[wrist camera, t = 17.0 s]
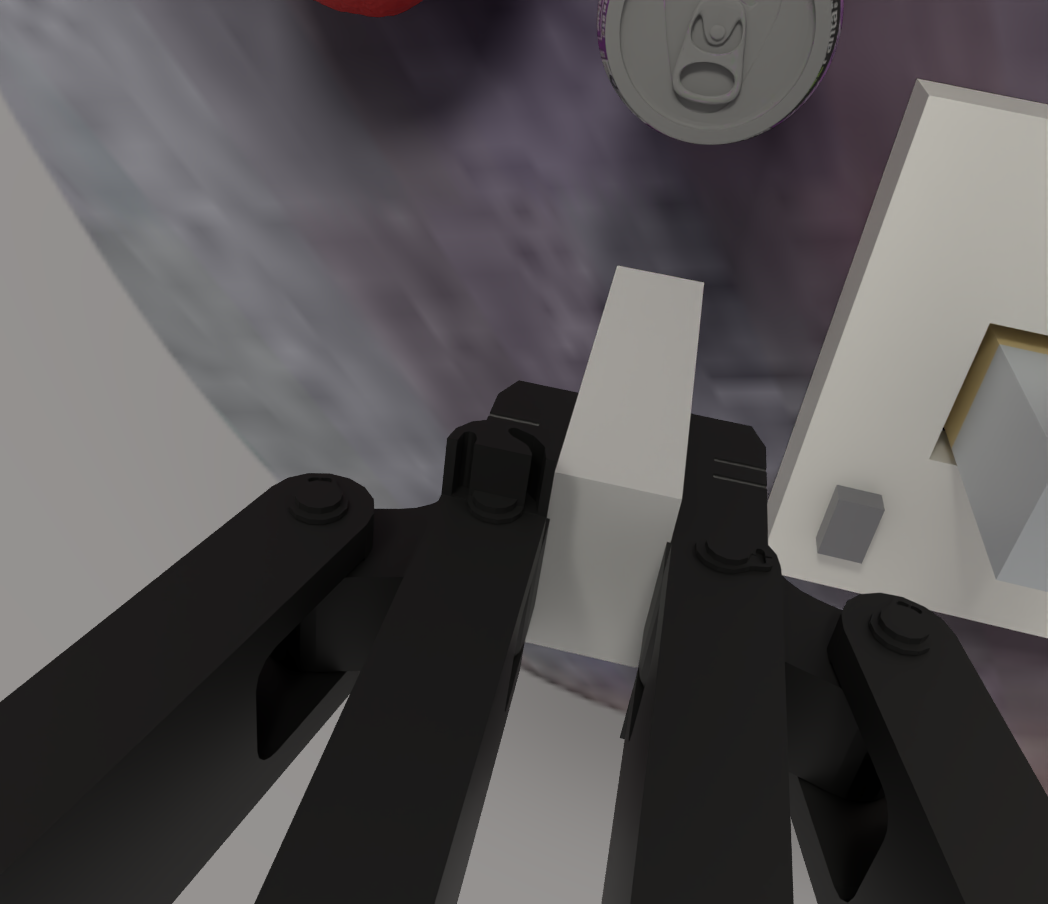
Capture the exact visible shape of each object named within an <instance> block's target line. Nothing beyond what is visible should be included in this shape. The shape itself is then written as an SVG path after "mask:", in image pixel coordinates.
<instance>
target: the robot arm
mask: <svg viewBox="0 0 1048 904" xmlns="http://www.w3.org/2000/svg"><path fill="white" fill-rule="evenodd" d="M703 289H704V282H699V281H693V280H688V279H683V278H678V277H673V276H668V275H663V274H658V273H653V272H647V271H642V270H637V269H632V268H627V267H622V266H617V268H616V272H615V275H614V278H613V282H612V285H611V288H610V292H609V295H608V298H607V301H606V305H605V308H604V311H603V315H602V318H601V321H600V325H599V328H598V331H597V334H596V338H595V341H594V344H593V348H592V351H591V354H590V358H589V361H588V364H587V367H586V371H585V374H584V377H583V381H582V384H581V387H580V391H579V393H577V392H572V391H567V390H562V389H558V388H553V387H548V386H543V385H538V384H534V383H529V382H524V381H517V382H516V383H514V384H513V385H511V386H510V387H508V388H507V389H505V390H504V391H502V392H500V393H499V394H498V396H497V398H496V400H495V403H494V405H493V407H492V409H491V412H490V416H488V418H487V420H482V421H473V422H470V423H468V424H465V425H463V426H460V427H458V428H456V429H455V430H454V431H453V432H452V433H451V434H450V436H449V437H448V438H447V446H446V456H445V465H444V475H443V485H442V494H441V496H440V499H439V501H438V502H435V503H433V504H431V505H426V506H422V507H418V508H407V509H374V499H373V498H372V496H371V495H370V494H369V492H368V491H367V490H366V488H365V487H363V486H361V485H360V484H358V483H356V482H355V481H353V480H351V479H349V478H345V477H341V476H337V475H333V474H321V473H308V474H303V475H299V476H294V477H289V478H287V479H285V480H283V481H281V482H279V483H278V484H276V485H274V486H272V487H271V488H270V489H268V490H267V491H266V492H264V493H263V494H262V495H261V496H259V497H258V498H257V499H256V500H254V501H253V502H252V503H251V504H249V505H248V506H247V507H246V508H244V509H243V510H242V511H241V512H239V513H238V514H237V515H235V516H234V517H233V518H232V519H230V520H229V521H228V522H227V523H225V524H224V525H223V526H222V527H221V528H219V529H218V530H217V531H215V532H214V533H213V534H211V535H210V536H209V537H208V538H206V539H205V540H204V541H203V542H201V543H200V544H199V545H198V546H196V547H195V548H194V549H193V550H191V551H190V552H189V553H188V554H186V555H185V556H184V557H182V558H181V559H180V560H179V561H177V562H176V563H175V564H174V565H172V566H171V567H170V568H169V569H168V570H166V571H165V572H164V573H162V574H161V575H160V576H159V577H158V578H156V579H155V580H153V581H152V582H151V583H150V584H149V585H147V586H146V587H145V588H143V589H142V590H141V591H140V592H138V593H137V594H136V595H135V596H133V597H132V598H131V599H130V600H128V601H127V602H126V603H125V604H123V605H122V606H121V607H120V608H118V609H117V610H116V611H115V612H113V613H112V614H111V615H109V616H108V617H107V618H106V619H104V620H103V621H102V622H101V623H99V624H98V625H97V626H96V627H94V628H93V629H92V630H91V631H89V632H88V633H87V634H85V635H84V636H83V637H82V638H80V639H79V640H78V641H77V642H75V643H74V644H73V645H72V646H70V647H69V648H68V649H67V650H65V651H64V652H63V653H61V654H60V655H59V656H58V657H56V658H55V659H54V660H53V661H51V662H50V663H49V664H48V665H46V666H45V667H44V668H43V669H41V670H40V671H39V672H38V673H36V674H35V675H34V676H33V677H31V678H30V679H29V680H27V681H26V682H25V683H24V684H23V685H21V686H20V687H19V688H17V689H16V690H15V691H14V692H13V693H11V694H10V695H9V696H7V697H6V698H5V699H4V700H2V701H1V702H0V904H172V903H173V902H174V901H175V899H176V898H177V897H178V896H179V895H180V894H181V892H182V891H183V890H184V889H185V887H186V886H187V885H188V884H189V883H190V882H191V881H192V879H193V878H194V877H195V876H196V874H198V872H199V871H200V870H201V869H202V868H203V866H204V865H205V864H206V863H207V861H208V860H209V859H210V858H211V857H212V856H213V855H214V853H215V852H216V851H217V850H218V849H219V848H220V846H221V845H222V844H223V843H224V842H225V840H226V839H227V838H228V837H229V836H230V835H231V833H232V832H233V831H234V830H235V829H236V828H237V826H238V825H239V824H240V823H241V821H242V820H243V819H244V818H245V817H246V816H247V815H248V813H249V812H250V811H251V810H252V809H253V807H254V806H255V805H256V804H257V803H258V801H259V800H260V799H261V798H262V797H263V795H264V794H265V793H266V792H267V791H268V790H269V789H270V787H271V786H272V785H273V784H274V783H275V782H276V780H277V779H278V778H279V777H280V776H281V774H282V773H283V772H284V771H285V769H287V767H288V766H289V765H290V764H291V763H292V762H293V760H294V759H295V758H296V757H297V756H298V754H299V753H300V752H301V751H302V750H303V749H304V747H305V746H306V745H307V744H308V743H309V741H310V740H311V739H312V738H313V737H314V736H315V734H316V733H317V732H318V731H319V730H320V728H321V727H322V726H323V725H324V724H325V722H326V721H327V720H328V719H329V718H330V717H331V715H332V714H333V713H334V712H335V711H336V710H337V708H338V707H339V706H340V705H341V704H342V703H343V701H344V700H345V699H346V698H347V697H348V695H349V694H350V695H349V698H348V700H347V702H346V704H345V707H344V709H343V711H342V713H341V715H340V717H339V720H338V722H337V724H336V726H335V728H334V731H333V733H332V735H331V737H330V739H329V741H328V744H327V746H326V748H325V750H324V753H323V755H322V757H321V759H320V761H319V763H318V766H317V768H316V770H315V772H314V774H313V776H312V779H311V781H310V783H309V785H308V788H307V790H306V792H305V794H304V796H303V799H302V801H301V803H300V805H299V807H298V809H297V811H296V814H295V816H294V818H293V820H292V823H291V825H290V827H289V829H288V831H287V833H286V836H285V838H284V840H283V842H282V844H281V847H280V849H279V851H278V853H277V855H276V858H275V860H274V862H273V864H272V866H271V869H270V871H269V873H268V875H267V877H266V879H265V882H264V884H263V886H262V888H261V890H260V892H259V895H258V897H257V899H256V901H255V903H254V904H457V901H458V897H459V893H460V890H461V886H462V883H463V879H464V875H465V871H466V867H467V864H468V860H469V856H470V853H471V849H472V845H473V842H474V838H475V834H476V830H477V827H478V823H479V819H480V816H481V812H482V808H483V805H484V801H485V797H486V793H487V790H488V786H489V782H490V779H491V775H492V771H493V767H494V764H495V760H496V756H497V753H498V749H499V745H500V742H501V738H502V734H503V730H504V727H505V723H506V719H507V715H508V712H509V708H510V704H511V701H512V697H513V693H514V690H515V686H516V682H517V678H518V675H519V671H520V665H521V660H522V654H523V648H524V643H525V642H527V643H532V644H536V645H540V646H545V647H549V648H553V649H558V650H562V651H566V652H571V653H575V654H579V655H583V656H588V657H592V658H596V659H601V660H605V661H609V662H614V663H618V664H622V665H627V666H631V667H635V668H637V666H638V663H639V668H638V672H637V675H636V679H635V683H634V687H633V690H632V694H631V698H630V702H629V705H628V709H627V713H626V717H625V721H624V724H623V728H622V732H621V735H620V738H623V739H625V742H624V749H623V756H622V763H621V770H620V777H619V784H618V791H617V798H616V805H615V812H614V819H613V826H612V833H611V840H610V848H609V854H608V862H607V868H606V875H605V882H604V890H603V897H602V904H793V876H792V848H791V823H790V816H791V819H792V823H793V826H794V829H795V832H796V835H797V838H798V842H799V845H800V848H801V851H802V855H803V858H804V861H805V864H806V867H807V871H808V874H809V877H810V880H811V883H812V887H813V890H814V893H815V896H816V900H817V903H818V904H1048V796H1047V794H1046V793H1045V791H1044V789H1043V787H1042V786H1041V784H1040V782H1039V780H1038V779H1037V777H1036V775H1035V773H1034V772H1033V770H1032V768H1031V766H1030V765H1029V763H1028V761H1027V759H1026V758H1025V756H1024V754H1023V752H1022V751H1021V749H1020V747H1019V745H1018V744H1017V742H1016V740H1015V738H1014V737H1013V735H1012V733H1011V731H1010V730H1009V728H1008V726H1007V724H1006V723H1005V721H1004V719H1003V717H1002V716H1001V714H1000V712H999V710H998V709H997V707H996V705H995V703H994V702H993V700H992V698H991V696H990V694H989V693H988V691H987V689H986V687H985V686H984V684H983V682H982V680H981V679H980V677H979V675H978V673H977V672H976V670H975V668H974V666H973V665H972V663H971V661H970V659H969V658H968V656H967V654H966V652H965V651H964V649H963V647H962V645H961V644H960V642H959V640H958V638H957V637H956V635H955V634H954V633H953V632H952V630H951V629H950V628H949V627H948V625H947V624H946V623H945V622H944V621H943V620H942V619H941V618H940V617H938V616H937V615H935V614H934V613H933V612H931V611H930V610H928V609H927V608H926V607H924V606H922V605H920V604H917V603H915V602H913V601H911V600H908V599H906V598H904V597H900V596H895V595H890V594H885V593H868V594H860V595H858V596H856V597H854V598H852V599H850V600H848V601H847V602H846V604H845V606H844V608H843V610H840V609H838V608H835V607H833V606H831V605H829V604H826V603H824V602H822V601H820V600H817V599H815V598H814V597H812V596H810V595H808V594H806V593H804V592H802V591H800V590H799V589H798V588H796V587H795V586H794V585H792V584H791V583H790V582H788V581H787V580H786V579H785V578H784V577H783V576H782V573H781V566H780V563H779V560H778V557H777V554H776V553H775V552H774V551H773V550H772V549H771V548H770V546H769V545H768V514H767V489H766V486H767V473H766V447H765V445H764V444H763V443H762V441H761V440H760V438H759V437H758V435H757V434H756V432H755V431H754V429H753V428H752V426H747V425H742V424H738V423H733V422H728V421H723V420H718V419H714V418H709V417H704V416H699V415H694V414H691V406H692V396H693V387H694V377H695V367H696V357H697V347H698V338H699V328H700V318H701V308H702V299H703ZM639 659H640V662H639Z"/></svg>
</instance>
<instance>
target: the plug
mask: <svg viewBox="0 0 1048 904" xmlns="http://www.w3.org/2000/svg"><path fill="white" fill-rule="evenodd" d="M944 428H945V431H946V434H947V437H948V440H949V443H950V446H951V449H952V452H953V455H954V458H955V461H956V464H957V467H958V469H959V472H960V475H961V478H962V481H963V484H964V487H965V490H966V493H967V496H968V499H969V502H970V505H971V508H972V511H973V514H974V516H975V519H976V522H977V525H978V528H979V531H980V534H981V537H982V540H983V543H984V546H985V549H986V552H987V555H988V558H989V561H990V563H991V566H992V569H993V572H994V575H995V578H996V580H999V581H1003V582H1007V583H1011V584H1016V585H1020V586H1024V587H1028V588H1033V589H1037V590H1041V591H1045V592H1048V335H1043V334H1038V333H1034V332H1029V331H1025V330H1020V329H1015V328H1011V327H1006V326H1001V325H997V324H992V323H990V324H989V326H988V328H987V331H986V333H985V335H984V337H983V340H982V342H981V344H980V346H979V349H978V351H977V353H976V355H975V357H974V360H973V362H972V364H971V366H970V369H969V371H968V373H967V375H966V378H965V380H964V382H963V384H962V387H961V389H960V391H959V393H958V395H957V398H956V400H955V402H954V404H953V407H952V409H951V411H950V413H949V416H948V418H947V420H946V422H945V425H944Z"/></svg>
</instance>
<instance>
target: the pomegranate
mask: <svg viewBox="0 0 1048 904" xmlns="http://www.w3.org/2000/svg"><path fill="white" fill-rule="evenodd" d="M315 1H318V2H320V3H321V4H323V5H325V6H328V7H330V8H332V9H335V10H338V11H340V12H349V13H354V14H362V15H365V16H369V17H385V16H394V15H397V14H400V13H402V12H404V11H407V10H408V9H410V8H412V7H413V6H415V5H417V4H419V3H420V2H421V1H423V0H315Z"/></svg>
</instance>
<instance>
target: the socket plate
mask: <svg viewBox="0 0 1048 904" xmlns="http://www.w3.org/2000/svg"><path fill="white" fill-rule="evenodd" d="M990 323H992V324H997V325H1001V326H1006V327H1011V328H1015V329H1020V330H1025V331H1029V332H1034V333H1038V334H1043V335H1048V104H1043V103H1038V102H1033V101H1028V100H1023V99H1018V98H1013V97H1007V96H1002V95H997V94H992V93H987V92H982V91H977V90H972V89H967V88H962V87H957V86H952V85H947V84H942V83H937V82H932V81H927V80H922V79H917V80H916V82H915V85H914V88H913V91H912V94H911V97H910V99H909V102H908V105H907V108H906V111H905V114H904V117H903V119H902V122H901V125H900V128H899V131H898V134H897V136H896V139H895V142H894V145H893V148H892V151H891V153H890V156H889V159H888V162H887V165H886V168H885V170H884V173H883V176H882V179H881V182H880V185H879V187H878V190H877V193H876V196H875V199H874V202H873V204H872V207H871V210H870V213H869V216H868V219H867V221H866V224H865V227H864V230H863V233H862V236H861V238H860V241H859V244H858V247H857V250H856V253H855V255H854V258H853V261H852V264H851V267H850V270H849V272H848V275H847V278H846V281H845V284H844V287H843V290H842V292H841V295H840V298H839V301H838V304H837V307H836V309H835V312H834V315H833V318H832V321H831V324H830V326H829V329H828V332H827V335H826V338H825V341H824V343H823V346H822V349H821V352H820V355H819V358H818V360H817V363H816V366H815V369H814V372H813V375H812V377H811V380H810V383H809V386H808V389H807V392H806V394H805V397H804V400H803V403H802V406H801V409H800V411H799V414H798V417H797V420H796V423H795V426H794V428H793V431H792V434H791V437H790V440H789V443H788V446H787V448H786V451H785V454H784V457H783V460H782V463H781V465H780V468H779V471H778V474H777V477H776V480H775V482H774V485H773V488H772V491H771V494H770V497H769V499H768V502H767V514H768V545H769V546H770V548H771V549H772V550H773V551H774V552H775V553H776V554H777V557H778V560H779V563H780V566H781V573H782V575H784V576H788V577H793V578H797V579H801V580H805V581H809V582H814V583H818V584H822V585H826V586H830V587H835V588H839V589H843V590H847V591H851V592H856V593H860V594H868V593H885V594H890V595H895V596H900V597H904V598H906V599H908V600H911V601H913V602H915V603H917V604H920V605H922V606H924V607H926V608H927V609H928V610H931V611H935V612H939V613H944V614H948V615H952V616H956V617H960V618H965V619H969V620H973V621H977V622H981V623H986V624H990V625H994V626H998V627H1002V628H1007V629H1011V630H1015V631H1019V632H1023V633H1028V634H1032V635H1036V636H1040V637H1044V638H1048V592H1045V591H1041V590H1037V589H1033V588H1028V587H1024V586H1020V585H1016V584H1011V583H1007V582H1003V581H999V580H996V578H995V575H994V572H993V569H992V566H991V563H990V561H989V558H988V555H987V552H986V549H985V546H984V543H983V540H982V537H981V534H980V531H979V528H978V525H977V522H976V519H975V516H974V514H973V511H972V508H971V505H970V502H969V499H968V496H967V493H966V490H965V487H964V484H963V481H962V478H961V475H960V472H959V469H958V467H957V464H956V461H955V458H954V455H953V452H952V449H951V446H950V443H949V440H948V437H947V434H946V431H943V430H942V429H943V427H944V425H945V422H946V420H947V418H948V416H949V413H950V411H951V409H952V407H953V404H954V402H955V400H956V398H957V395H958V393H959V391H960V389H961V387H962V384H963V382H964V380H965V378H966V375H967V373H968V371H969V369H970V366H971V364H972V362H973V360H974V357H975V355H976V353H977V351H978V349H979V346H980V344H981V342H982V340H983V337H984V335H985V333H986V331H987V328H988V326H989V324H990Z"/></svg>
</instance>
